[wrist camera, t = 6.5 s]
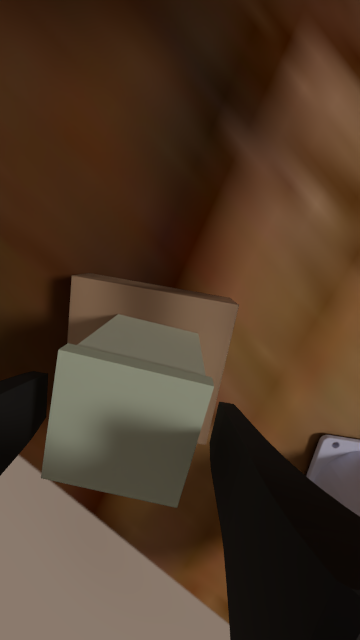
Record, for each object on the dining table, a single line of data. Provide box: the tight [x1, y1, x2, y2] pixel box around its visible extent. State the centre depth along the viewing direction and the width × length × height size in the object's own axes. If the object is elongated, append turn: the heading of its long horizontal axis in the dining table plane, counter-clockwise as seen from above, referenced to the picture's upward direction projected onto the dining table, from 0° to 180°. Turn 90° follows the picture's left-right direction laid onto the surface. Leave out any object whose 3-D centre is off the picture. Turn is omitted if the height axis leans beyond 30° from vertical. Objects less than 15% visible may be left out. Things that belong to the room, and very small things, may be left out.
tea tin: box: [41, 314, 214, 508], centre depth 11 cm, size 5×5×6 cm
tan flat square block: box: [67, 273, 239, 445], centre depth 15 cm, size 9×9×3 cm
